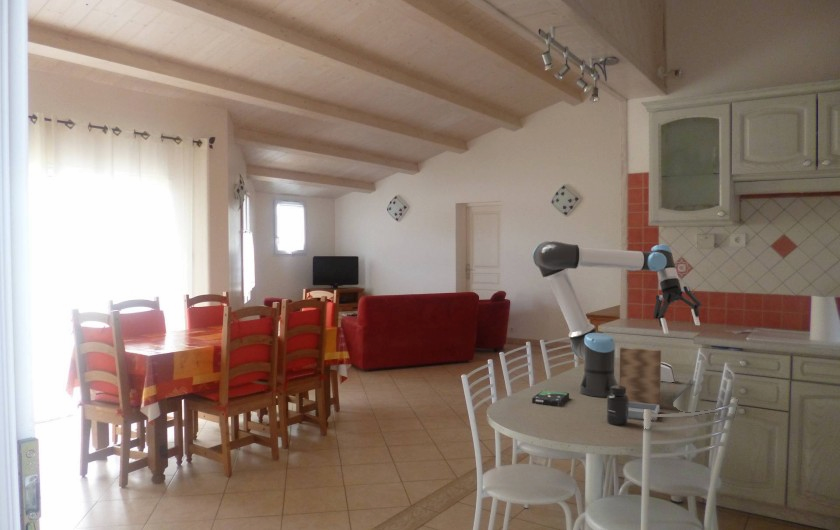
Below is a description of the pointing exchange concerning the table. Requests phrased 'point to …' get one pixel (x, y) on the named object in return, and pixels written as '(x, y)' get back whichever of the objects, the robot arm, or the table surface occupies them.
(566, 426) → the table surface
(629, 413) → the tray
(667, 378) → the white black curved block
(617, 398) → the supplement bottle
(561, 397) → the disk drive
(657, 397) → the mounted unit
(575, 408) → the table surface
